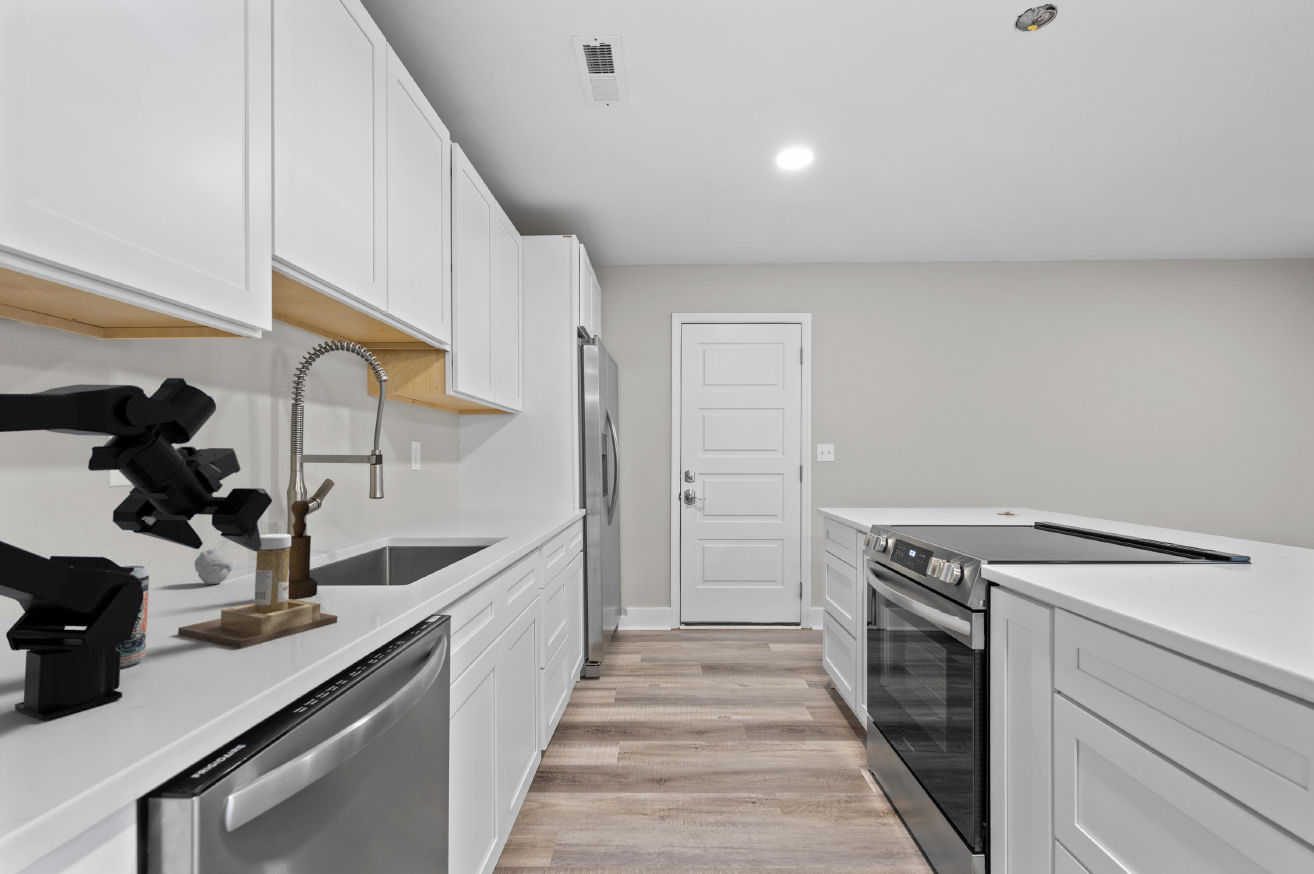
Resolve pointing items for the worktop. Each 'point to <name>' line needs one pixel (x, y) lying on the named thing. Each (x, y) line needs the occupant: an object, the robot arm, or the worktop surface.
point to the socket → (258, 624)
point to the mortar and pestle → (300, 556)
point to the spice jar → (272, 573)
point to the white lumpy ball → (213, 566)
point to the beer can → (136, 626)
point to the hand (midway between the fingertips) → (229, 547)
